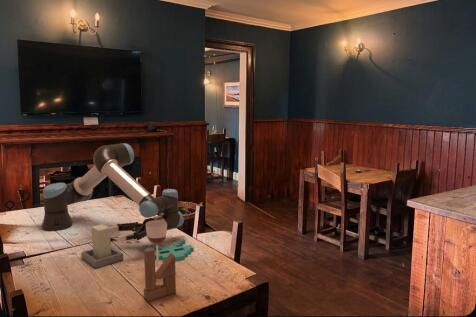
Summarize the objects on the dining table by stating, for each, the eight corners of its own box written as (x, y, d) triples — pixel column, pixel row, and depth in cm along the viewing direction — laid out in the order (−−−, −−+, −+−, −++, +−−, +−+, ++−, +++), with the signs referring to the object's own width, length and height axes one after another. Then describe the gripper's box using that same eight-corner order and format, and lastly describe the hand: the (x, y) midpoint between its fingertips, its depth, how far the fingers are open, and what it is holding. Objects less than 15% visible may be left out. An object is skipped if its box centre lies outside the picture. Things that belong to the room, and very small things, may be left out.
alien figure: (143, 250, 180) (154, 266, 162) (143, 245, 179) (154, 261, 162) (184, 243, 189) (199, 257, 171) (183, 238, 188) (199, 252, 171)
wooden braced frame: (176, 293, 139) (174, 245, 136) (148, 302, 132) (146, 252, 130) (171, 289, 141) (170, 242, 139) (143, 297, 135) (141, 249, 133)
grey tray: (81, 258, 169) (81, 252, 169) (108, 251, 178) (108, 244, 177) (95, 268, 159) (95, 261, 158) (123, 260, 167) (123, 253, 167)
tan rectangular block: (93, 257, 169) (91, 226, 167) (104, 254, 173) (102, 224, 170) (100, 262, 164) (98, 230, 162) (111, 258, 167) (109, 227, 165)
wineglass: (159, 277, 151) (157, 227, 148) (143, 271, 156) (141, 224, 153) (172, 269, 158) (171, 222, 155) (157, 264, 162) (155, 219, 160)
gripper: (168, 239, 175) (125, 251, 161) (140, 226, 194) (99, 236, 179) (167, 223, 174) (124, 234, 160) (140, 212, 192) (98, 221, 178)
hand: (111, 235), depth 170 cm, fingers open, 13 cm apart
